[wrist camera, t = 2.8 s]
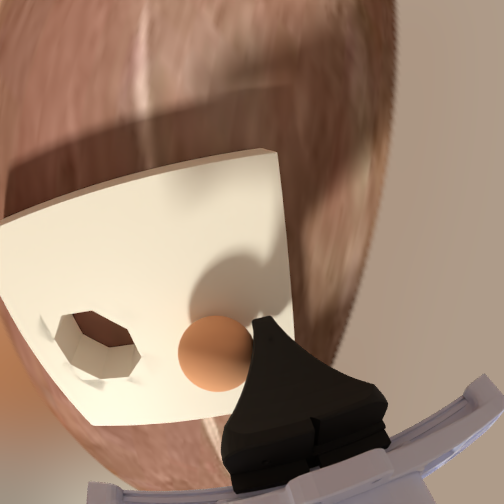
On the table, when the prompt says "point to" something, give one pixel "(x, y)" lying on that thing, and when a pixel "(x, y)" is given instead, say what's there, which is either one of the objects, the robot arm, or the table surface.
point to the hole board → (148, 279)
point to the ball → (216, 353)
